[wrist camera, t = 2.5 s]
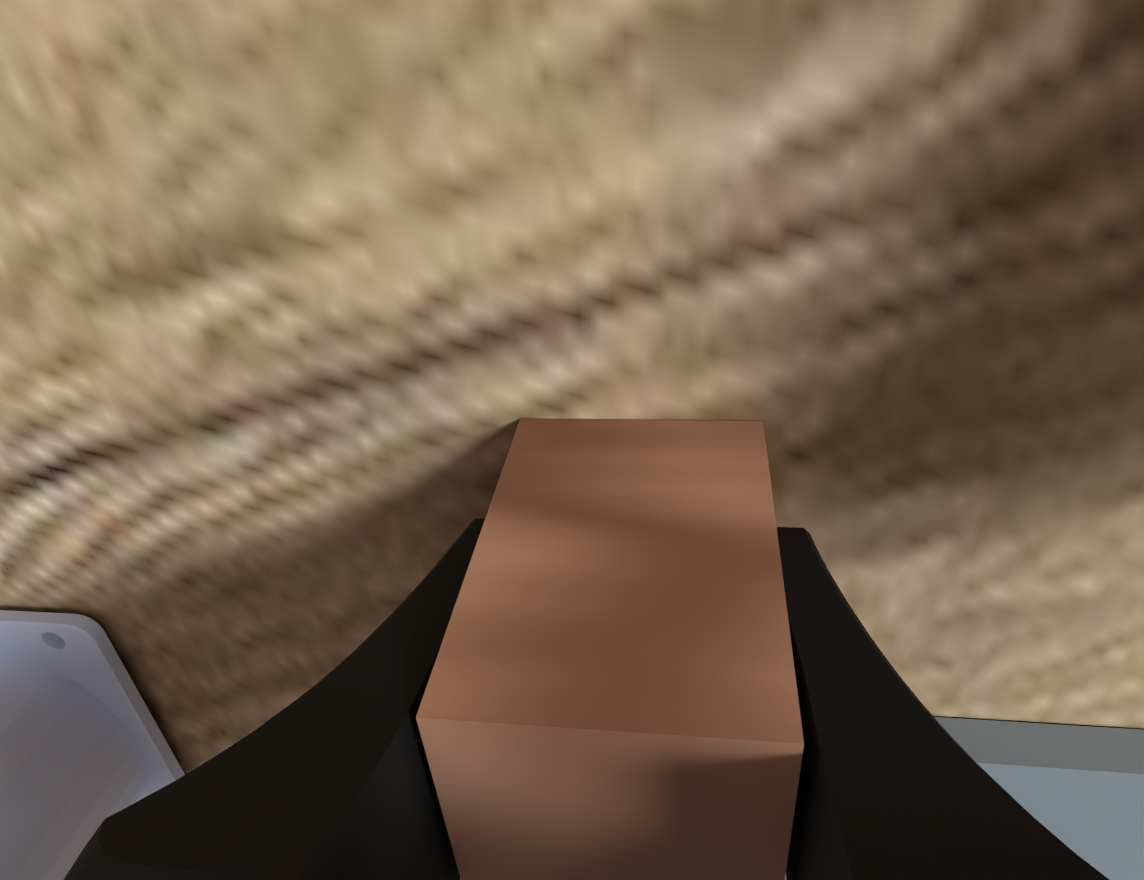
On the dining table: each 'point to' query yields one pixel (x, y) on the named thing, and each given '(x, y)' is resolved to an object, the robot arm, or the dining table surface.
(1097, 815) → the base board
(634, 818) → the terracotta block
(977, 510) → the dining table surface
